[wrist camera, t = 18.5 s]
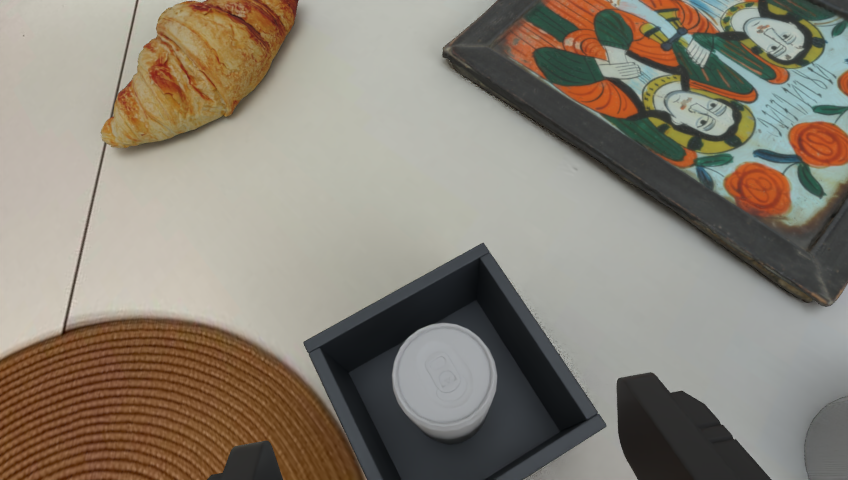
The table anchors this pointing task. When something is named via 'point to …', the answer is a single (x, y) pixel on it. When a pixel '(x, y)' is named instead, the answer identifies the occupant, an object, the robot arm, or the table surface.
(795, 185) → the painting
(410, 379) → the beverage can
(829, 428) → the cup
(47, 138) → the table surface
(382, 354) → the bin
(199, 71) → the croissant
